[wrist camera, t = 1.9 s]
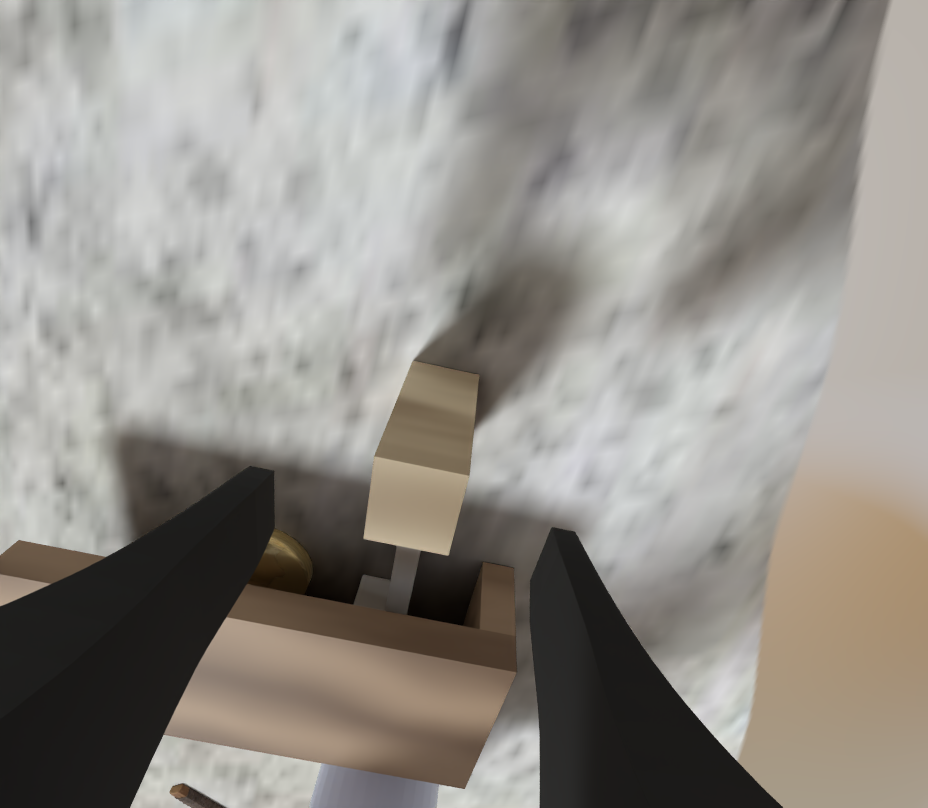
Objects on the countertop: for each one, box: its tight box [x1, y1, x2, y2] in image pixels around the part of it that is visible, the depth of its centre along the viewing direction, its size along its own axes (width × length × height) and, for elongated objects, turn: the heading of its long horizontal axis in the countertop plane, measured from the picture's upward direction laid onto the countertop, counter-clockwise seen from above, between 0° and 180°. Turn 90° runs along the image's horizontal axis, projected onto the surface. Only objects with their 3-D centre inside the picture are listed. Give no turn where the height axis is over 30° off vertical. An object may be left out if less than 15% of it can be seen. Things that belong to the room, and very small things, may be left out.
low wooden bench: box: [0, 540, 517, 789], centre depth 22 cm, size 10×20×5 cm, turn 78°
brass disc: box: [247, 529, 313, 595], centre depth 23 cm, size 5×5×1 cm
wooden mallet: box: [353, 361, 479, 615], centre depth 18 cm, size 13×3×6 cm, turn 168°
